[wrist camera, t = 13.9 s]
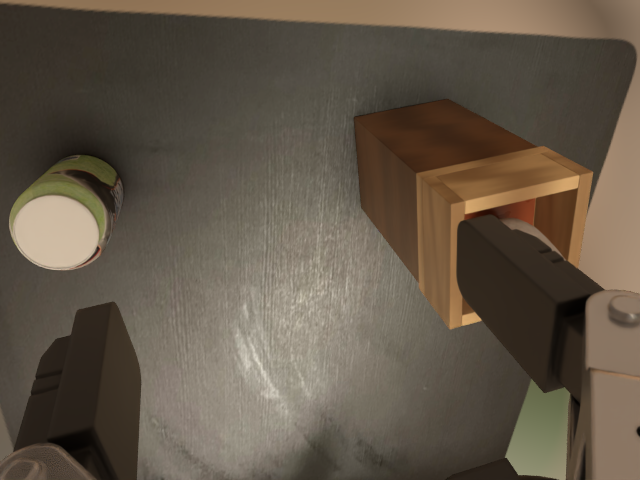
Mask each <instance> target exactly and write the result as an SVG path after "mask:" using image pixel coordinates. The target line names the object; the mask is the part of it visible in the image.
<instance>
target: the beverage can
mask: <svg viewBox="0 0 640 480" xmlns="http://www.w3.org/2000/svg"><path fill="white" fill-rule="evenodd" d="M123 200H124V188H123V184H122V181H121V179H120V177H119V175H118V174H117V173H116V171H115V170H114V169H113V168H112V167H111V166H110V165H109V164H107V163H106V162H104V161H103V160H100V159H98V158H96V157H92V156H87V155H74V156H69V157H66V158H64V159H61V160H60V161H58V162H57V163H55V164H54V165H53V166H52V167H51V168H50V169H49V170H48V171H46V172H45V173H44V174H43V175H42V176H41V177H40V178H39V179H38V180H37V181H35V182H34V183H33V184H32V185H31V186H30V187H29V188H28V189H27V190H25V191H24V192H23V193H22V194H21V195H20V196H19V197H18V199H17V200H16V202H15V203H14V205H13V207H12V210H11V213H10V218H9V228H10V233H11V236H12V239H13V241H14V243H15V245H16V246H17V248H18V249H19V250H20V252H21V253H22V254H23V255H24V256H25V257H26V258H27V259H28V260H30V261H31V262H33V263H34V264H36V265H38V266H41V267H44V268H47V269H52V270H73V269H77V268H80V267H83V266H85V265H88V264H89V263H91V262H92V261H94V260H95V259H97V258H98V257H99V256H100V255H101V254H102V252H103V251H104V250H105V248H106V246H107V244H108V242H109V240H110V237H111V234H112V232H113V229H114V226H115V224H116V221H117V218H118V215H119V213H120V210H121V207H122V204H123Z"/></svg>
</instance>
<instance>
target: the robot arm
mask: <svg viewBox="0 0 640 480" xmlns="http://www.w3.org/2000/svg"><path fill="white" fill-rule="evenodd" d="M456 278H457V284H458V287H459V290H460V293H461V295H462V297H463V298H464V300H465V301H466V302H467V303H468V305H469V306H470V307H471V308H472V309H473V310H474V312H475V313H476V314H477V315H478V316H479V317H480V319H481V320H482V321H483V322H484V323H485V324H486V326H487V327H488V328H489V329H490V330H491V332H492V333H493V334H494V335H495V336H496V337H497V339H498V340H499V341H500V342H501V343H502V344H503V346H504V347H505V348H506V349H507V350H508V351H509V353H510V354H511V355H512V356H513V357H514V358H515V360H516V361H517V362H518V363H519V364H520V365H521V367H522V368H523V369H524V370H525V371H526V373H527V374H528V375H529V376H530V377H531V378H532V380H533V381H534V382H535V383H536V384H537V385H538V387H539V388H540V389H541V390H542V391H543V392H544V393H547V392H550V391H553V390H557V389H560V388H563V387H565V388H566V389H567V390H568V391H569V392H570V399H569V405H568V434H567V465H566V466H567V467H566V480H640V294H638V293H635V292H631V291H626V290H604V289H603V288H602V287H601V286H599V285H598V284H597V283H596V282H594V281H593V280H592V279H590V278H589V277H588V276H587V275H585V274H584V273H583V272H581V271H580V270H579V269H578V268H576V267H575V266H574V265H572V264H571V263H570V262H569V261H567V260H564V258H563V257H562V256H561V255H560V254H558V253H557V252H556V251H552V248H551V247H549V246H548V245H547V244H545V243H544V242H543V241H542V240H540V239H539V238H538V237H536V236H533V235H531V234H528V233H526V232H523V231H521V230H518V229H514V230H511V229H510V228H509V227H508V226H506V225H505V224H504V223H503V222H502V221H500V220H499V219H498V218H497V217H495V216H494V215H492V214H489V215H484V216H480V217H476V218H472V219H467V220H463V221H461V222H460V223H459V224H458V228H457V263H456ZM35 377H36V380H34V383H33V386H32V390H31V396H29V400H28V403H27V407H26V410H25V413H24V417H23V420H22V424H21V427H20V430H19V434H18V437H17V441H16V444H15V447H14V451H13V453H11V454H10V455H9V456H7V457H5V458H4V459H3V460H1V461H0V480H137V461H138V440H139V419H140V398H141V373H140V367H139V363H138V359H137V356H136V353H135V350H134V347H133V345H132V342H131V340H130V337H129V334H128V332H127V329H126V326H125V324H124V321H123V319H122V316H121V313H120V311H119V308H118V306H117V305H116V303H115V302H109V303H105V304H101V305H96V306H92V307H88V308H84V309H79V310H77V312H76V315H75V320H74V324H73V328H72V333H71V335H70V336H66V337H62V338H58V339H56V340H55V341H54V342H53V343H52V345H51V346H50V347H49V348H48V350H47V351H46V352H45V353H44V354H43V356H42V357H41V359H40V362H39V366H38V369H37V373H36V376H35ZM445 480H557V479H553V478H547V477H541V476H528V475H518V474H517V473H516V471H515V470H514V468H513V467H512V465H511V464H510V462H509V461H508V459H507V458H504V459H501V460H498V461H494V462H491V463H488V464H485V465H482V466H479V467H476V468H472V469H469V470H466V471H463V472H460V473H457V474H453V475H452V476H450V477H448V478H447V479H445Z"/></svg>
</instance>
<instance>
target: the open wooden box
mask: <svg viewBox="0 0 640 480" xmlns="http://www.w3.org/2000/svg"><path fill="white" fill-rule="evenodd" d="M592 176H593V172H592V171H590V170H588V169H586V168H584V167H582V166H581V165H579V164H577V163H575V162H573V161H571V160H569V159H567V158H565V157H563V156H562V155H560V154H558V153H556V152H554V151H552V150H550V149H548V148H546V147H544V146H541V147H536V148H532V149H527V150H522V151H518V152H513V153H508V154H504V155H499V156H494V157H490V158H485V159H481V160H476V161H471V162H467V163H462V164H457V165H453V166H448V167H443V168H439V169H434V170H429V171H425V172H420V173H416V181H417V222H418V264H419V289H420V290H421V292H422V293H423V294H424V296H425V297H426V298H427V300H428V301H429V302H430V304H431V305H432V306H433V308H434V309H435V310H436V312H437V313H438V314H439V316H440V317H441V319H442V320H443V321H444V323H445V324H446V325H447V327H448V328H449V329H453V328H456V327H460V326H464V325H468V324H471V323H475V322H479V321H482V320H481V319H480V317H479V316H478V315H477V314H476V313H475V312H474V310H473V309H472V308H471V307H470V306H469V305H468V303H467V302H466V301H465V300H464V298H463V297H462V295H461V293H460V290H459V287H458V284H457V278H456V263H457V228H458V224H459V223H460V222H461V221H463V220H467V219H472V218H476V217H480V216H484V215H489V214H492V215H494V216H495V217H497V218H498V219H502V218H516V219H519V220H522V221H524V222H527V223H529V224H530V225H532V226H534V227H535V228H537V229H538V230H539V231H540V232H541V233H542V234H543V235H544V236H545V237H546V238H547V239H548V240H549V241H550V242H551V243H552V244H553V245H554V246H555V247H556V248H557V249H558V251H559V252H560V253H561V255H562V256H563V257H564V258H565V260H567V261H569V262H570V263H571V264H572V265H574V266H575V267H576V268H578V266H579V259H580V253H581V246H582V240H583V234H584V227H585V221H586V215H587V208H588V202H589V195H590V189H591V183H592Z"/></svg>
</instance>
